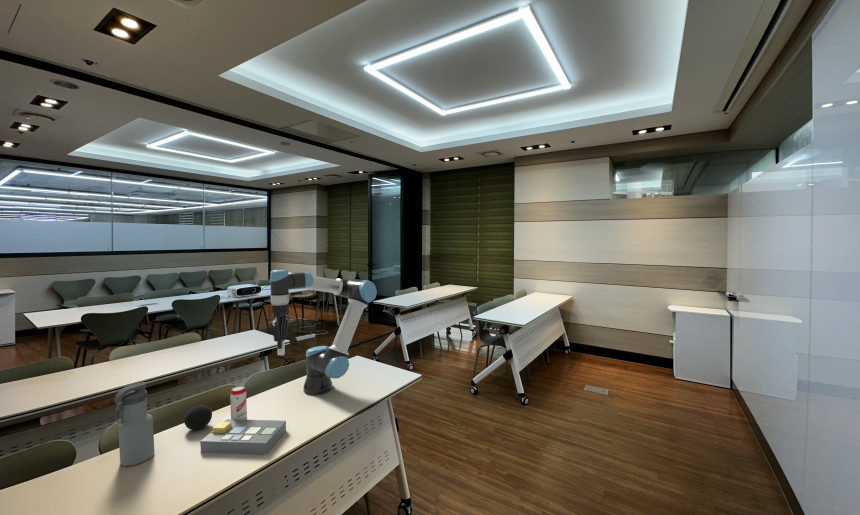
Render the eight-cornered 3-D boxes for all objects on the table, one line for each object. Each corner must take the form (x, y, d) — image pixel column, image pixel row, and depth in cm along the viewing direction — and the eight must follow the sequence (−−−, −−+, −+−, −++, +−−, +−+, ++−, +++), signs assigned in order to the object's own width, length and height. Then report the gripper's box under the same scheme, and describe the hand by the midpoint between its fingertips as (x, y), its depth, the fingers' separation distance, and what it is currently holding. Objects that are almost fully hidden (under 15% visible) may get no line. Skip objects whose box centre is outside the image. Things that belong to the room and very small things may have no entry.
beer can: (250, 420, 153) (249, 386, 152) (238, 428, 147) (237, 392, 146) (239, 418, 155) (238, 384, 154) (227, 425, 149) (226, 390, 148)
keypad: (227, 429, 146) (227, 418, 146) (286, 430, 145) (285, 420, 145) (200, 452, 130) (200, 440, 130) (266, 454, 129) (265, 442, 129)
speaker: (203, 420, 154) (203, 398, 153) (217, 425, 149) (216, 403, 149) (179, 431, 145) (178, 408, 144) (193, 437, 140) (192, 414, 140)
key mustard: (220, 427, 140) (220, 421, 140) (231, 427, 140) (231, 422, 140) (213, 433, 136) (212, 427, 136) (224, 434, 136) (223, 428, 135)
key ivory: (251, 432, 140) (250, 427, 140) (261, 432, 140) (261, 427, 139) (244, 439, 135) (244, 433, 135) (255, 439, 135) (255, 433, 135)
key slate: (235, 432, 140) (235, 426, 140) (246, 432, 140) (246, 426, 140) (228, 438, 136) (228, 432, 135) (239, 439, 135) (239, 433, 135)
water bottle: (124, 471, 120) (120, 394, 118) (114, 462, 125) (110, 387, 123) (159, 456, 128) (155, 383, 127) (148, 447, 133) (145, 378, 132)
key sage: (266, 433, 139) (266, 427, 139) (277, 433, 139) (277, 427, 139) (260, 439, 135) (260, 433, 135) (271, 439, 135) (271, 434, 135)
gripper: (279, 301, 160) (280, 350, 162) (264, 306, 147) (265, 359, 149) (294, 301, 160) (295, 350, 161) (280, 306, 147) (282, 359, 148)
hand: (281, 354), depth 155 cm, fingers closed
